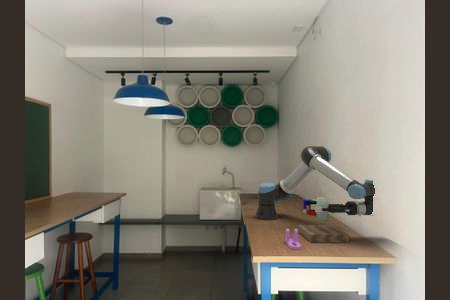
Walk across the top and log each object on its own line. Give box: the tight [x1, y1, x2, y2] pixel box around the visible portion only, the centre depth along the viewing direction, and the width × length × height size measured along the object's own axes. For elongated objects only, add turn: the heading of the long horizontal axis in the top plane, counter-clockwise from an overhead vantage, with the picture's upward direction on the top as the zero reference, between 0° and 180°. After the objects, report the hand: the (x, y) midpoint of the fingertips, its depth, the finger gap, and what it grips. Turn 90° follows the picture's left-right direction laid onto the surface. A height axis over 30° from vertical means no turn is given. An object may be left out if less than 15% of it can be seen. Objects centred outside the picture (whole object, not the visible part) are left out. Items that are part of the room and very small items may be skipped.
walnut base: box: [297, 224, 350, 243], centre depth 163 cm, size 20×20×4 cm
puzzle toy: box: [302, 198, 317, 216], centre depth 227 cm, size 10×10×10 cm
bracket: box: [284, 228, 302, 251], centre depth 148 cm, size 13×6×7 cm, turn 179°
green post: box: [316, 196, 329, 222], centre depth 163 cm, size 6×6×12 cm
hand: (313, 208), depth 163 cm, fingers closed on green post, 6 cm apart
